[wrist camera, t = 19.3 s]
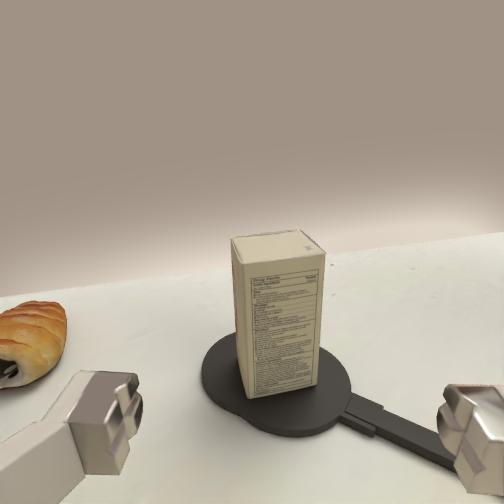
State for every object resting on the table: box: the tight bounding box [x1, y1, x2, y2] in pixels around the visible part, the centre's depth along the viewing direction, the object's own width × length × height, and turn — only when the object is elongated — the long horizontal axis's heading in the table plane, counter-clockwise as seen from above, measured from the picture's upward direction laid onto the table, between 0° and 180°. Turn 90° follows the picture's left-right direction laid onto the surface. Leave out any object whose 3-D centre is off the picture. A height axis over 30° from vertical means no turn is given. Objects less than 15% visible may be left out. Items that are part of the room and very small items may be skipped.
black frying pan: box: [202, 332, 457, 473], centre depth 22 cm, size 24×9×1 cm, turn 57°
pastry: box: [0, 301, 67, 389], centre depth 27 cm, size 9×7×4 cm
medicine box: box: [231, 229, 326, 399], centre depth 23 cm, size 5×4×10 cm
